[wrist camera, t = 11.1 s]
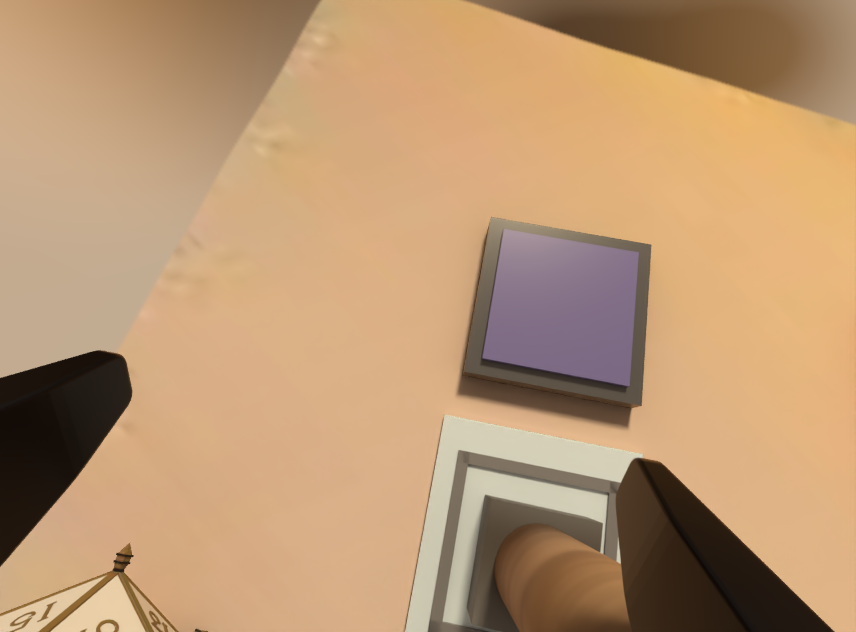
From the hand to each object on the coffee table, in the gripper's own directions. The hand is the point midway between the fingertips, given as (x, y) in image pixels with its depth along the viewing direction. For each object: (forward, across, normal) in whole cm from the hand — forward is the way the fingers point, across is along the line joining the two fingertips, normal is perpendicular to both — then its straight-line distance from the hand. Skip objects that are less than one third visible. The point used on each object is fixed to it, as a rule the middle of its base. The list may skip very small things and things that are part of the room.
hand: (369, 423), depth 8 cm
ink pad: (+15, -6, +4) cm, 17 cm away
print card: (+7, -6, +12) cm, 15 cm away
